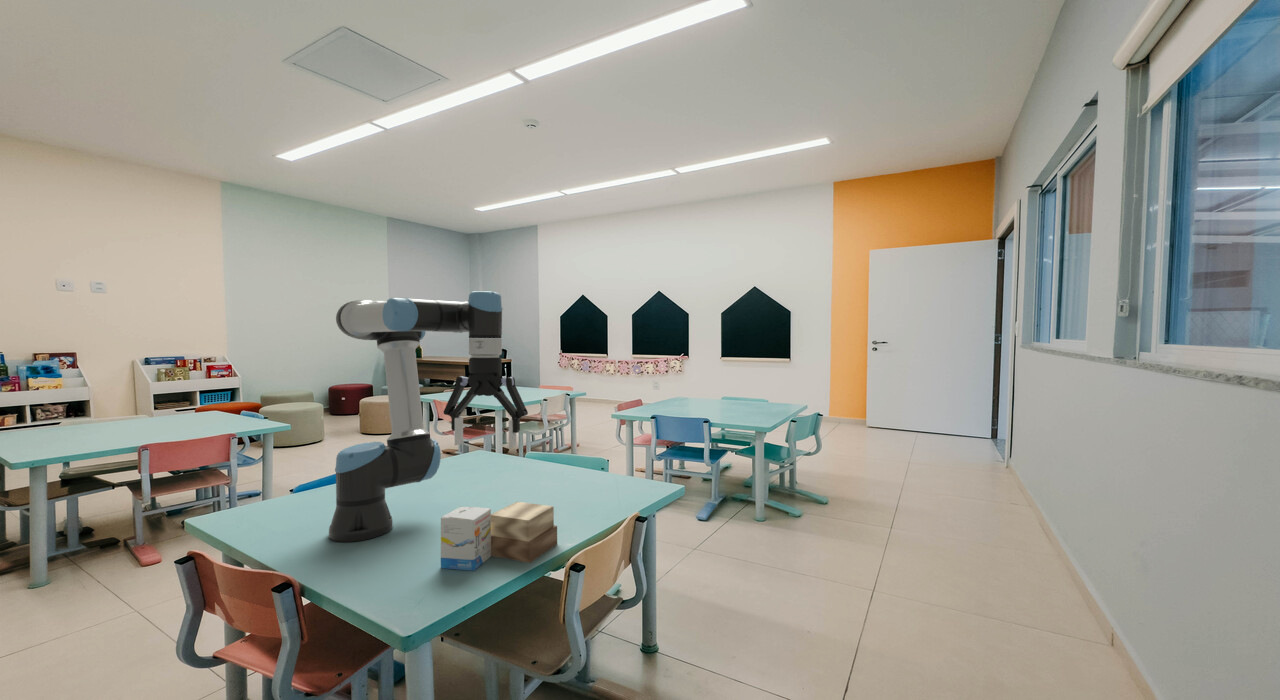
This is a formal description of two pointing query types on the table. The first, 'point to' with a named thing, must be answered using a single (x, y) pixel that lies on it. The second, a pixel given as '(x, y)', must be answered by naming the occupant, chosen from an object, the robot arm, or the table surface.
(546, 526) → the tower top
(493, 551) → the tower base
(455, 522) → the ink box
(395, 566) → the table surface
